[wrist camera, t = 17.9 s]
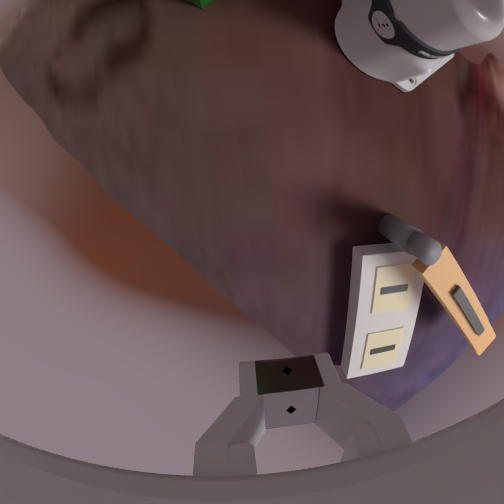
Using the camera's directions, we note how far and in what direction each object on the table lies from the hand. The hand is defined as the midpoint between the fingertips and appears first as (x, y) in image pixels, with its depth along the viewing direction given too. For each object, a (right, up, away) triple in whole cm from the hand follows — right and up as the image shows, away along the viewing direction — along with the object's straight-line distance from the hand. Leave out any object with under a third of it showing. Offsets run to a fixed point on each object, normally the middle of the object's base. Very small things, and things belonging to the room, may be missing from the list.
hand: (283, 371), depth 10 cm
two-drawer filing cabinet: (+21, -4, +38) cm, 43 cm away
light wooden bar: (+32, -4, +30) cm, 43 cm away
